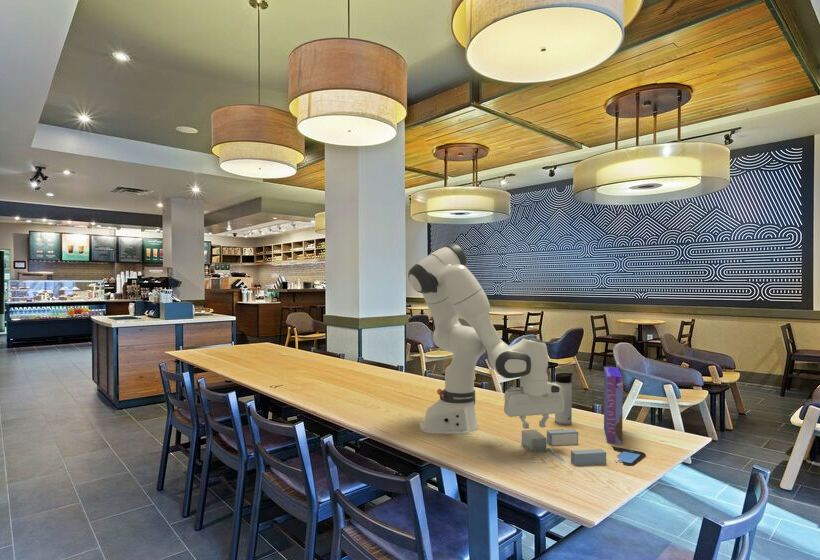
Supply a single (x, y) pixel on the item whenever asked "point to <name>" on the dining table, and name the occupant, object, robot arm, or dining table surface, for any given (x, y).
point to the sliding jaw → (562, 437)
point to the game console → (629, 456)
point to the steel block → (534, 441)
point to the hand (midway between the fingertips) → (534, 427)
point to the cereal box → (613, 404)
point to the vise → (585, 456)
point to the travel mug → (565, 398)
